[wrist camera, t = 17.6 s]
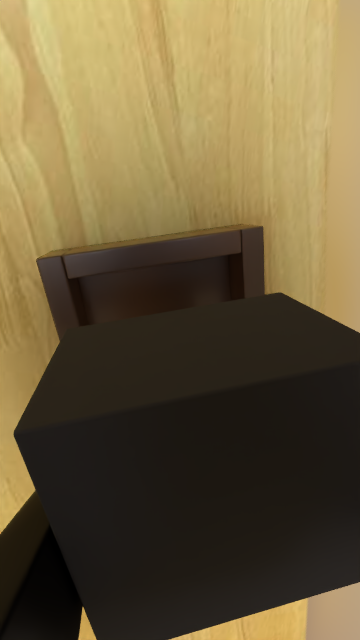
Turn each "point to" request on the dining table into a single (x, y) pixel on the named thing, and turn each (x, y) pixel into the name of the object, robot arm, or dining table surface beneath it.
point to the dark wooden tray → (152, 275)
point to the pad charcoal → (200, 463)
